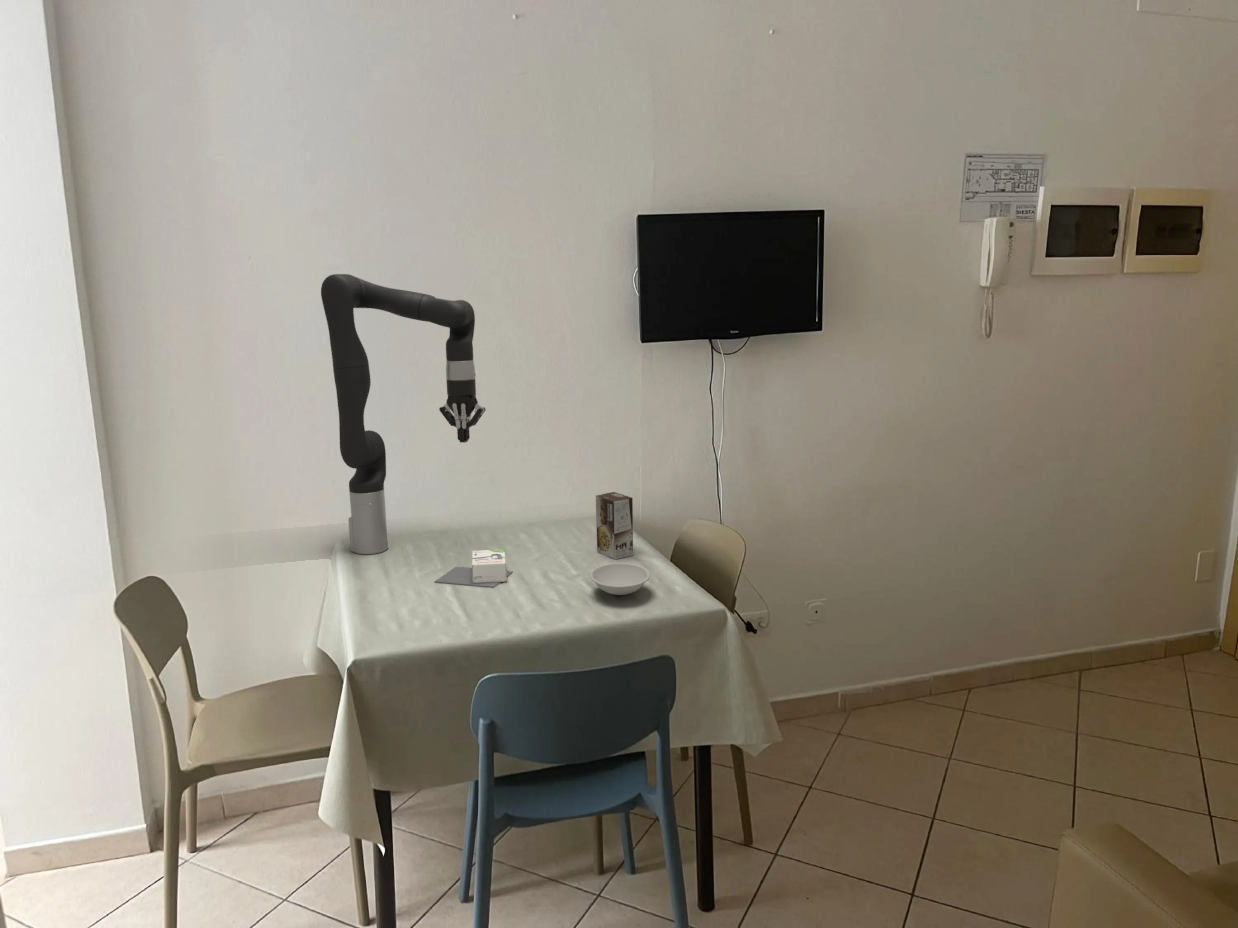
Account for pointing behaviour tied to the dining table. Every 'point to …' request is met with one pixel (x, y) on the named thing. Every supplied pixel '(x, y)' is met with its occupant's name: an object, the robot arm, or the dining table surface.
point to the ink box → (489, 566)
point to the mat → (464, 578)
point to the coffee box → (614, 525)
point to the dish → (619, 577)
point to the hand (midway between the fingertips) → (463, 441)
